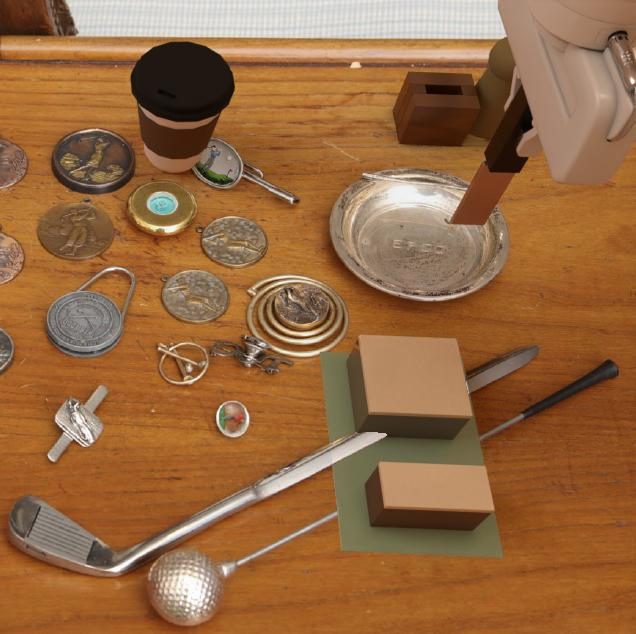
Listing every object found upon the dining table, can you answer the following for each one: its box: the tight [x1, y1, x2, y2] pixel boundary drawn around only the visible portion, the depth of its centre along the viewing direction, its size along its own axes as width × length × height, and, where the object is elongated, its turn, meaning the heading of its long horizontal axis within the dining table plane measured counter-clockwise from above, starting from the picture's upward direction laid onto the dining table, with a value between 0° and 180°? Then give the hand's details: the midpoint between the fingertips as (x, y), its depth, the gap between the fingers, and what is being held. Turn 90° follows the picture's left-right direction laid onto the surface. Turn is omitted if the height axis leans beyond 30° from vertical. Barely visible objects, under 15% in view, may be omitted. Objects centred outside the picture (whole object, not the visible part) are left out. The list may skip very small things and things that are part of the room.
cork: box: [468, 36, 516, 139], centre depth 103 cm, size 6×6×11 cm
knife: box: [449, 84, 533, 226], centre depth 76 cm, size 3×2×16 cm
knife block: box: [392, 70, 481, 147], centre depth 105 cm, size 7×6×6 cm
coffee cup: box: [129, 40, 236, 174], centre depth 100 cm, size 11×11×12 cm
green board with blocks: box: [319, 334, 505, 559], centre depth 83 cm, size 14×20×6 cm
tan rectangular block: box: [365, 462, 496, 531], centre depth 79 cm, size 9×4×5 cm, turn 88°
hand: (519, 133), depth 73 cm, fingers closed on knife, 2 cm apart
